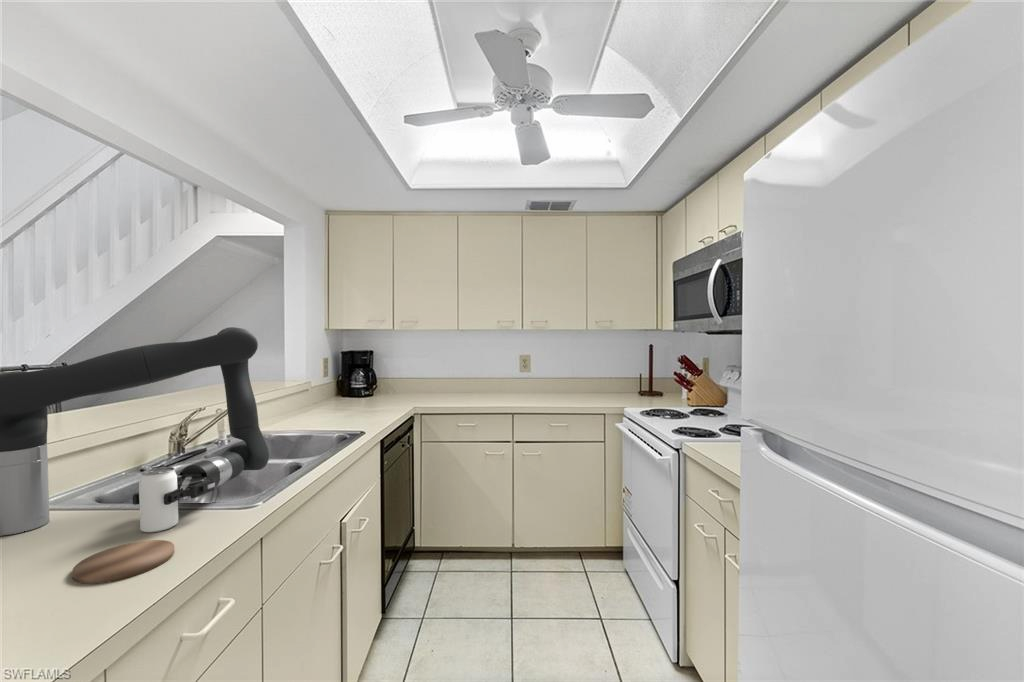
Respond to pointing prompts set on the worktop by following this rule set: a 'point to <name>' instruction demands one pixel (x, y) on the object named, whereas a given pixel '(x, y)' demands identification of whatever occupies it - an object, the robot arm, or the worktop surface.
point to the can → (157, 500)
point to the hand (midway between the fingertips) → (150, 499)
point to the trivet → (123, 561)
